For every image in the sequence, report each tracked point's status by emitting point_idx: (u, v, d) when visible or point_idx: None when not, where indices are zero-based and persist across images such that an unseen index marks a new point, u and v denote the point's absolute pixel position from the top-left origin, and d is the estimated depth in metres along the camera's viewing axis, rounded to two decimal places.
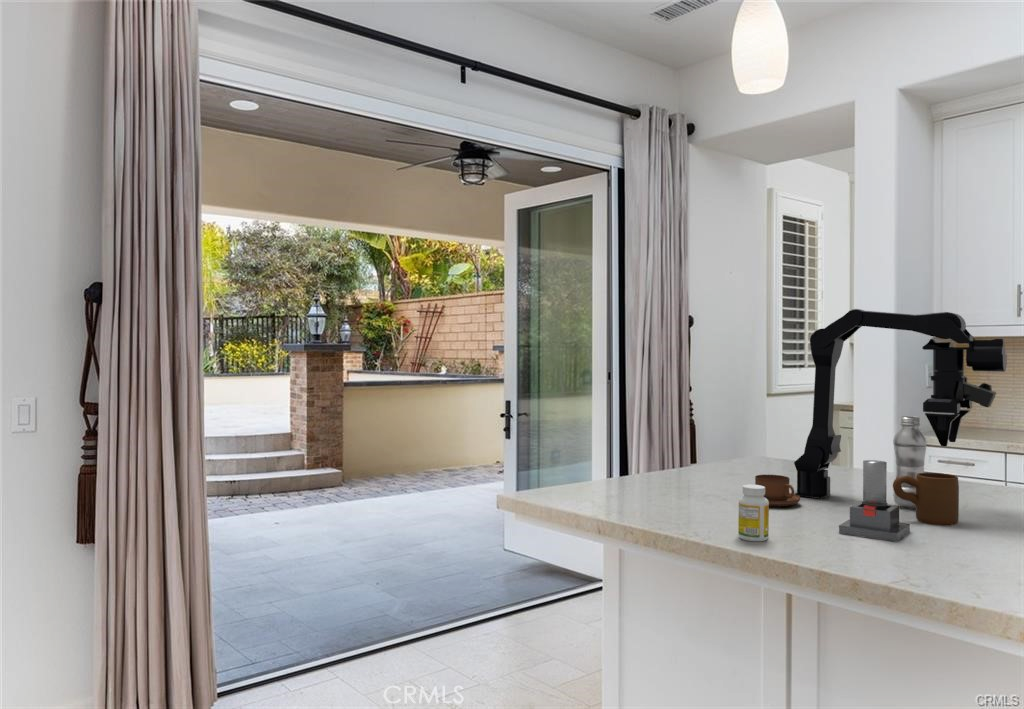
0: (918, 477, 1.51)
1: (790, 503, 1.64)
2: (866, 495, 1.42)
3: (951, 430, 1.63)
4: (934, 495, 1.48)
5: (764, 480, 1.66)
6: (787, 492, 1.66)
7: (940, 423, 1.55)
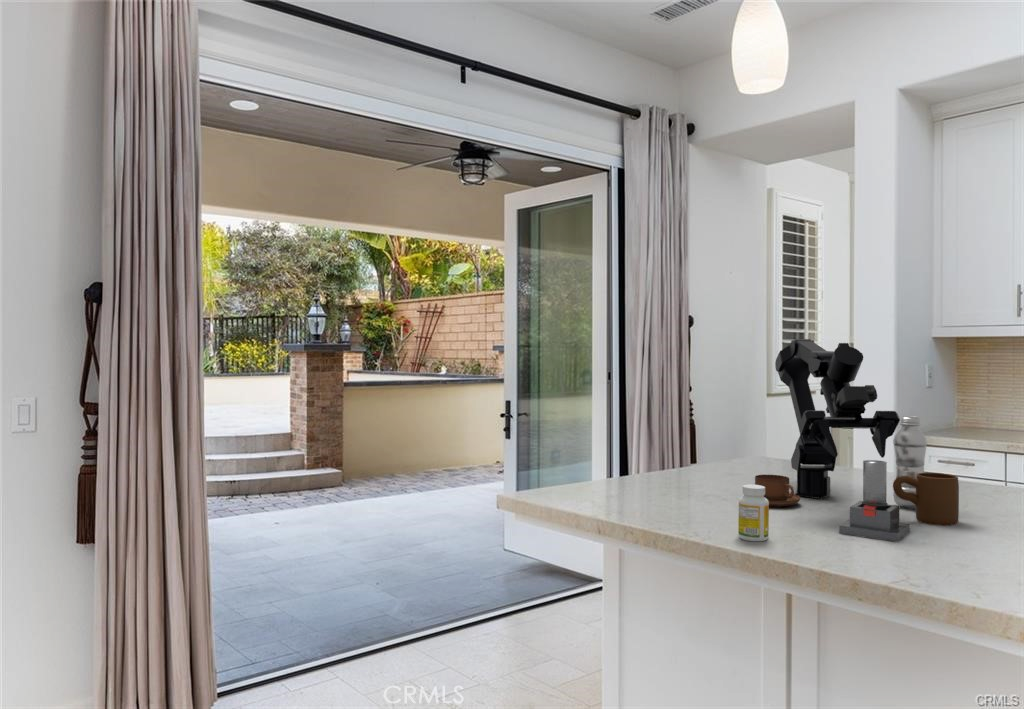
0: (918, 477, 1.51)
1: (790, 503, 1.64)
2: (866, 495, 1.42)
3: (879, 446, 1.51)
4: (934, 495, 1.48)
5: (764, 480, 1.66)
6: (787, 492, 1.66)
7: (823, 438, 1.54)
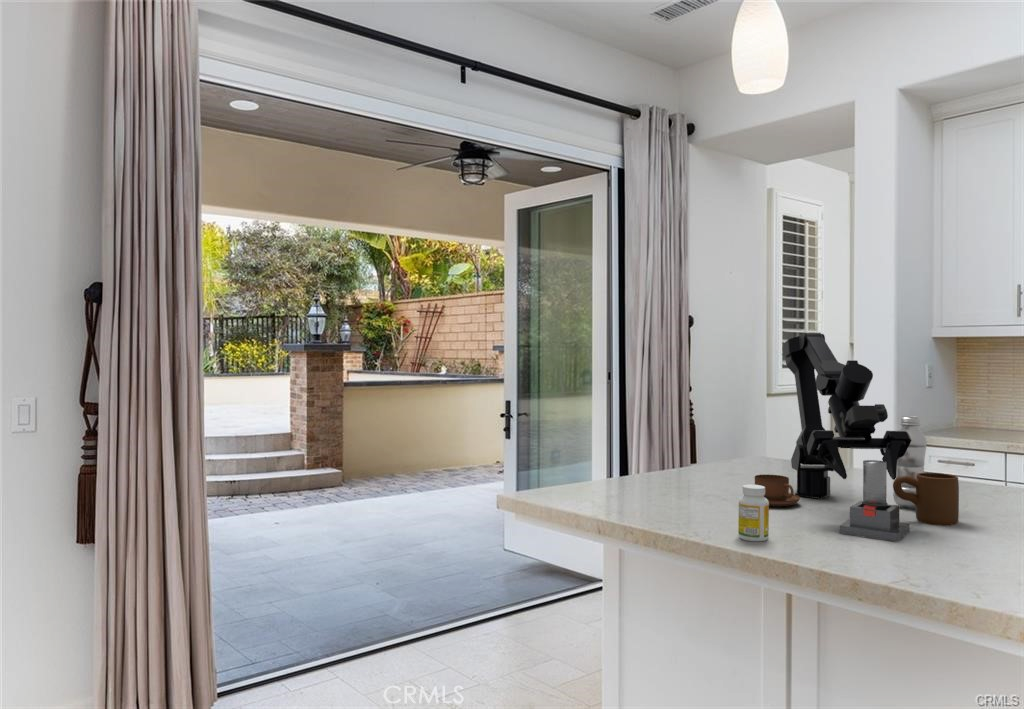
0: (918, 477, 1.51)
1: (789, 503, 1.64)
2: (866, 495, 1.42)
3: (889, 468, 1.46)
4: (934, 495, 1.48)
5: (764, 480, 1.66)
6: (786, 492, 1.66)
7: (832, 459, 1.48)
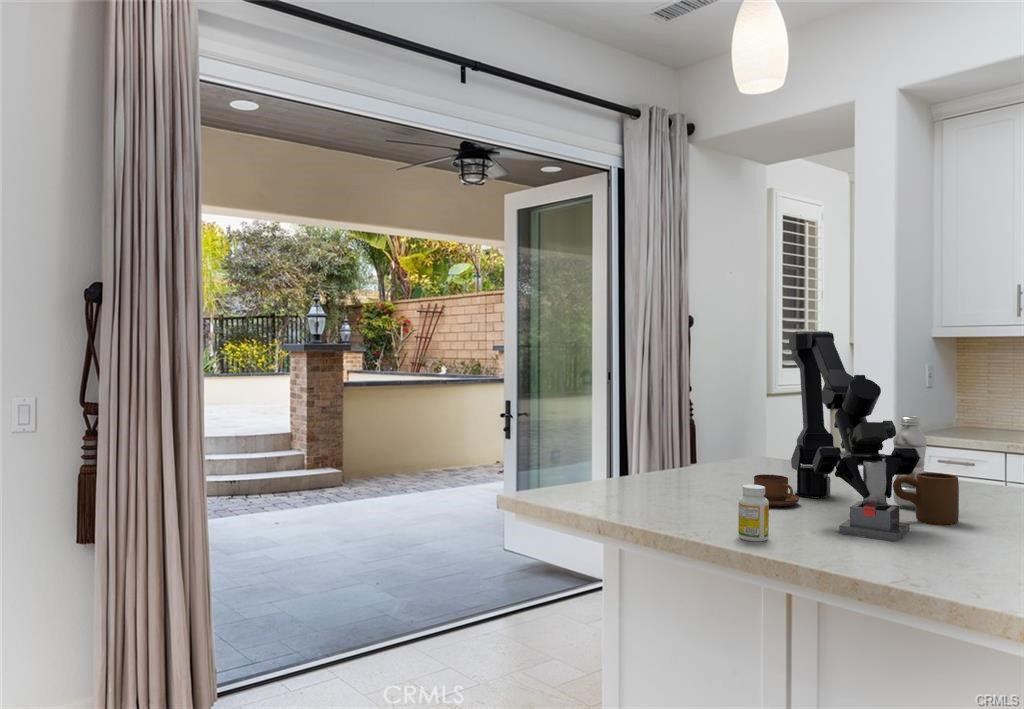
0: (918, 477, 1.51)
1: (789, 503, 1.64)
2: None
3: None
4: (934, 495, 1.48)
5: (763, 480, 1.66)
6: (786, 492, 1.66)
7: (851, 476, 1.45)
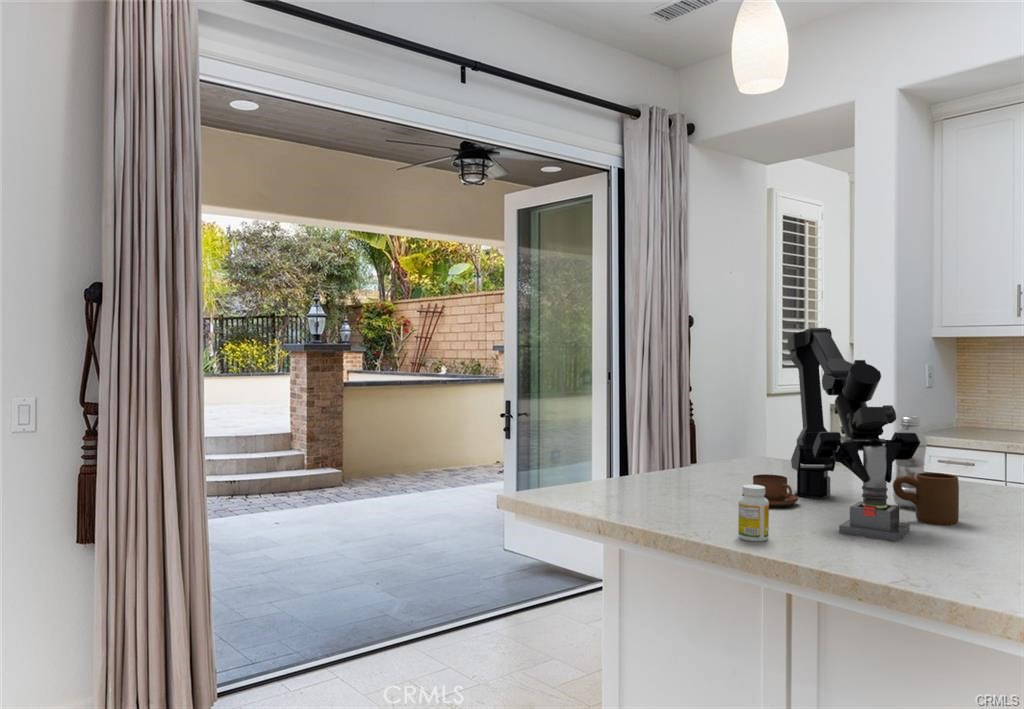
0: (918, 477, 1.51)
1: (788, 503, 1.64)
2: None
3: None
4: (934, 495, 1.48)
5: (762, 480, 1.66)
6: (785, 492, 1.66)
7: (851, 461, 1.45)
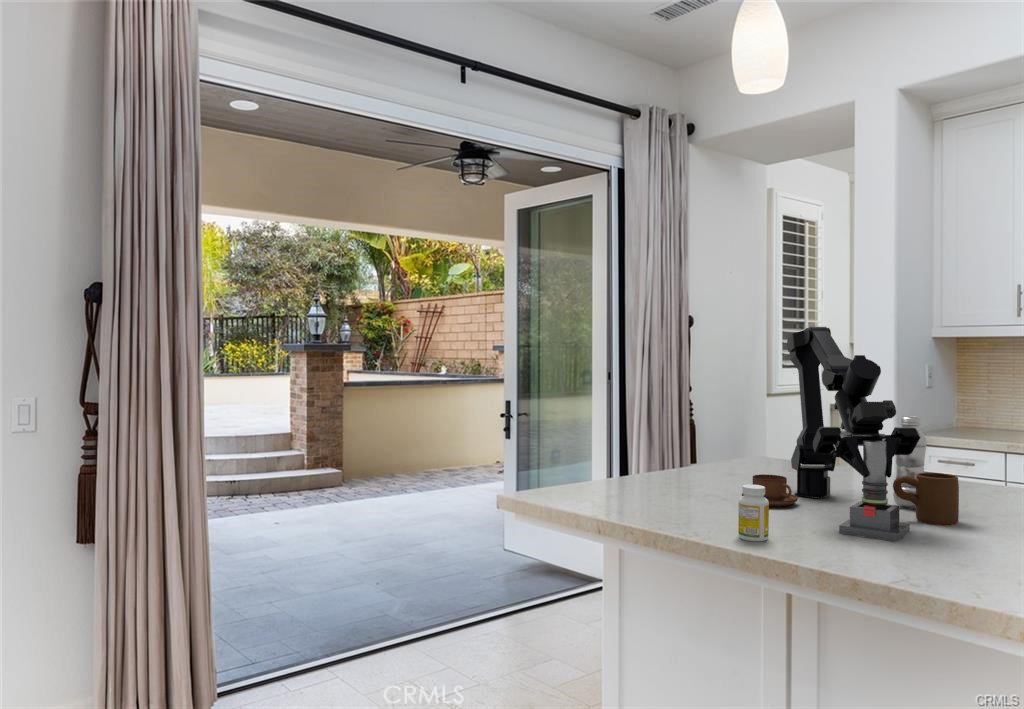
0: (918, 477, 1.51)
1: (787, 503, 1.64)
2: None
3: None
4: (934, 495, 1.48)
5: (762, 480, 1.66)
6: (784, 492, 1.66)
7: (851, 456, 1.45)
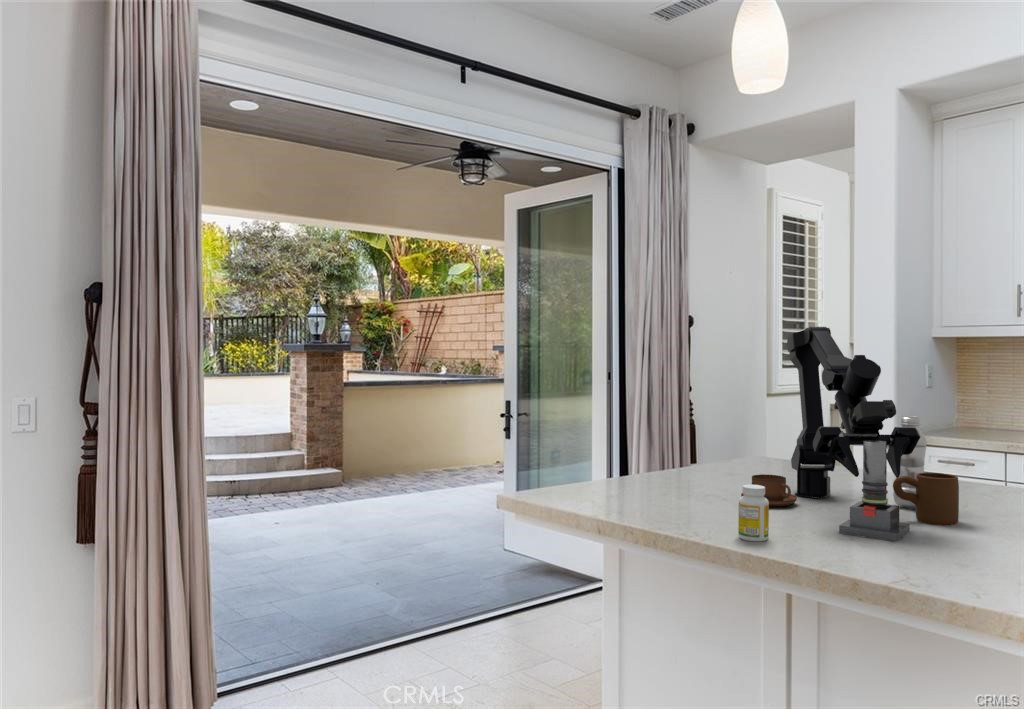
0: (918, 477, 1.51)
1: (787, 503, 1.64)
2: (866, 475, 1.42)
3: (893, 465, 1.42)
4: (934, 495, 1.48)
5: (761, 480, 1.66)
6: (784, 492, 1.66)
7: (843, 456, 1.45)
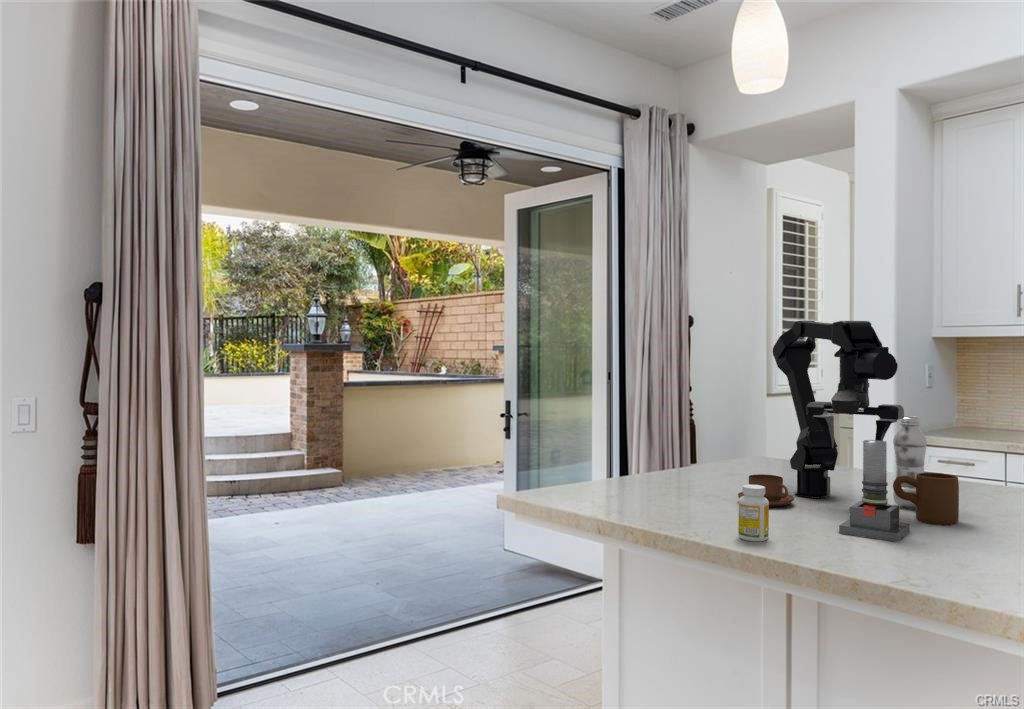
0: (918, 477, 1.51)
1: (784, 503, 1.64)
2: (866, 475, 1.42)
3: None
4: (934, 495, 1.48)
5: (758, 481, 1.66)
6: (780, 492, 1.66)
7: None
